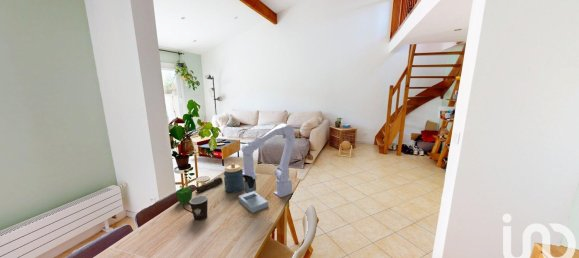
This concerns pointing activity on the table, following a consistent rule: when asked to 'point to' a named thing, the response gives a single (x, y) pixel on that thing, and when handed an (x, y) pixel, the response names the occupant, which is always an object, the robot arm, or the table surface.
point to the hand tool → (209, 184)
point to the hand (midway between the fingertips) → (250, 186)
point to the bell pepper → (184, 195)
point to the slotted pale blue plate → (253, 201)
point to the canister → (233, 178)
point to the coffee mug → (198, 207)
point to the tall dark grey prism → (247, 188)
